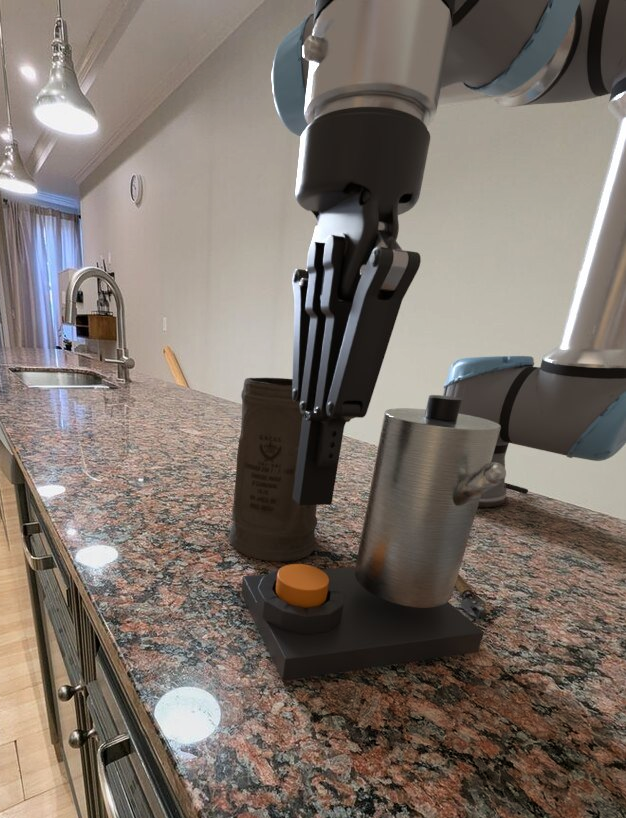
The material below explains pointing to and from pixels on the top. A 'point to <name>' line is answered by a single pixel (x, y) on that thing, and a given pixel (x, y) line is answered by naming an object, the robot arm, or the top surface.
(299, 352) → the robot arm
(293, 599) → the kettle button
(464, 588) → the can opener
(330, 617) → the kettle base
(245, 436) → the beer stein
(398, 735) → the top surface
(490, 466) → the kettle
